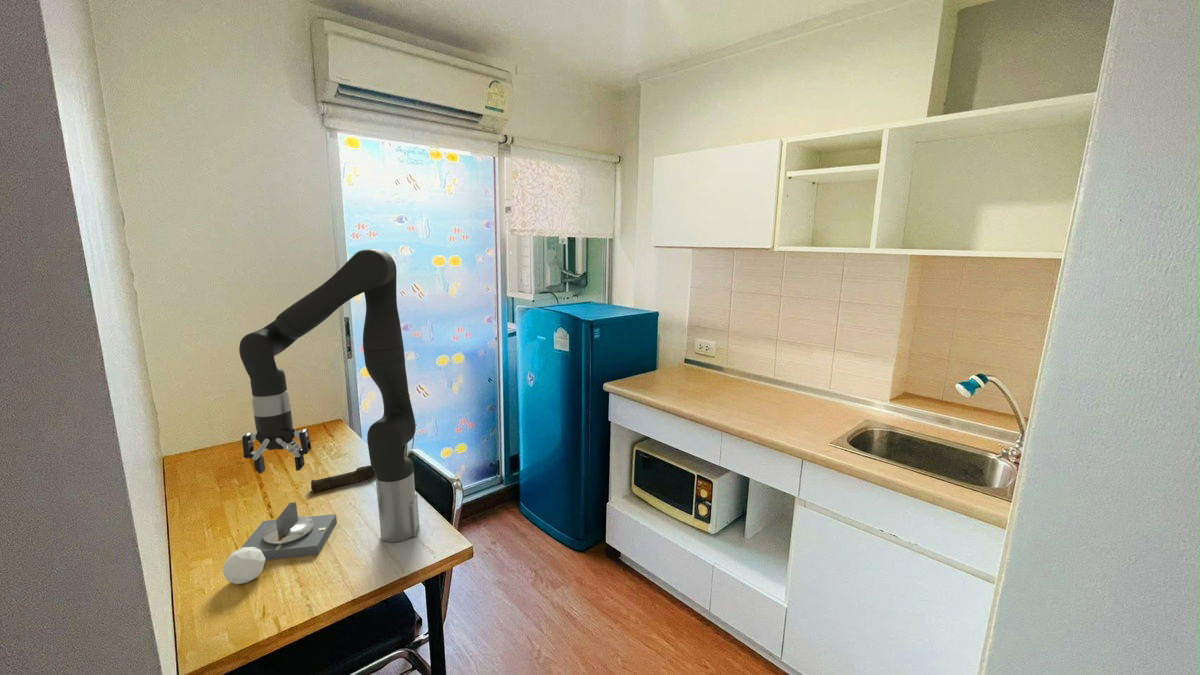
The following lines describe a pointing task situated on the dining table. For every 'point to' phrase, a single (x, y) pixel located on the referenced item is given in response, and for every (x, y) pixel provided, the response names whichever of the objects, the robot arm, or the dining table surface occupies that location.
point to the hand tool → (343, 479)
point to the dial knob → (288, 527)
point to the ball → (244, 565)
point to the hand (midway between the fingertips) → (280, 470)
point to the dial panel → (297, 548)
